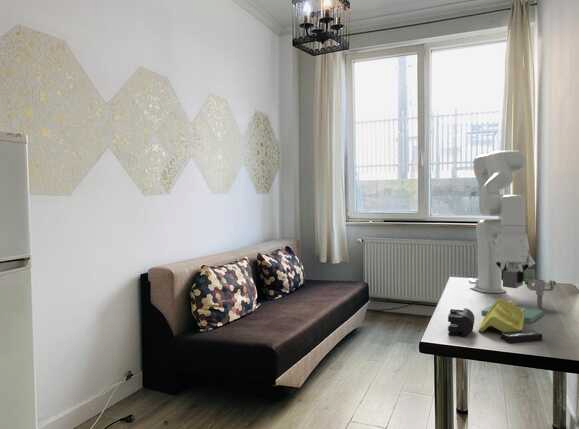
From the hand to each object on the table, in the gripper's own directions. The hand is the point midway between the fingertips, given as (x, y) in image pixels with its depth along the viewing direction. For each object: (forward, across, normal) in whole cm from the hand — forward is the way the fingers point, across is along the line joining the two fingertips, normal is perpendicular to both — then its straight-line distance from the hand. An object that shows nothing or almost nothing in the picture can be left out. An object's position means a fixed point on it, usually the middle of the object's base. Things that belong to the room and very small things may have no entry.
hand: (512, 281), depth 154 cm
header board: (+12, 0, +1) cm, 12 cm away
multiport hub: (+13, +10, -26) cm, 31 cm away
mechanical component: (+12, +4, +20) cm, 23 cm away
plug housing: (+2, 0, 0) cm, 2 cm away
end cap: (+13, -5, -31) cm, 34 cm away
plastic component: (+13, +3, -17) cm, 22 cm away
